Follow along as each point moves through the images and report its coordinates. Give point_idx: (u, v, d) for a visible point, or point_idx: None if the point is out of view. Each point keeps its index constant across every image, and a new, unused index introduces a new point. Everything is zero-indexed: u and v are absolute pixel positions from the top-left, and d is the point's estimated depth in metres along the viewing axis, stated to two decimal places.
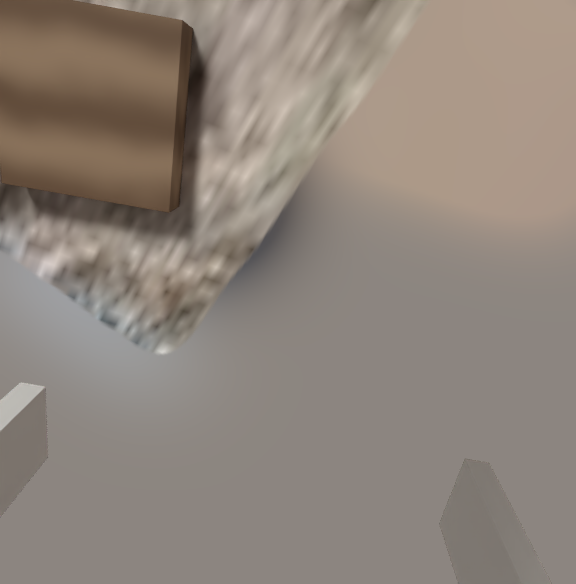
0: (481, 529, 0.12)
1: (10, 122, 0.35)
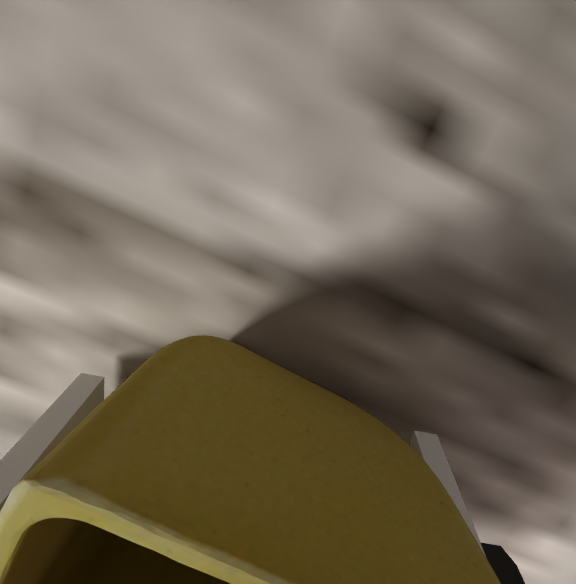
0: None
1: None
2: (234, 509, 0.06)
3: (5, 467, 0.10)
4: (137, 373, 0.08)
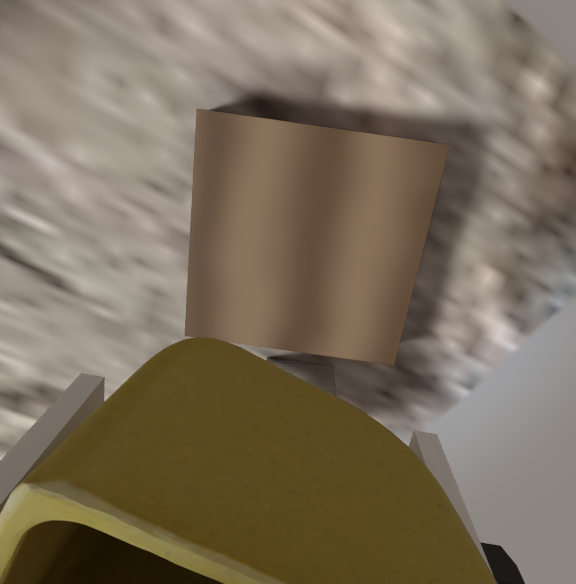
0: None
1: (323, 341, 0.29)
2: (232, 511, 0.06)
3: (5, 467, 0.10)
4: (136, 375, 0.08)
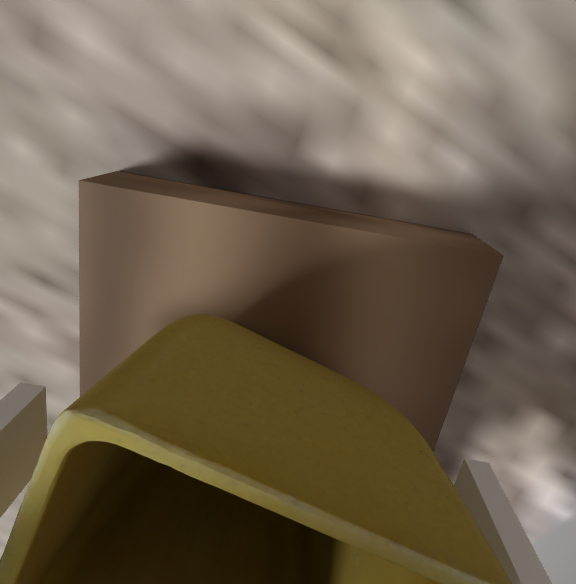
0: (481, 529, 0.12)
1: None
2: (235, 440, 0.08)
3: None
4: (151, 340, 0.10)
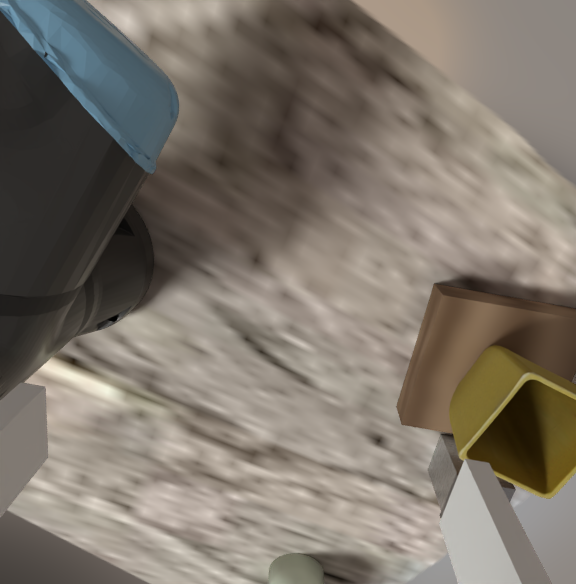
0: (481, 529, 0.12)
1: None
2: (554, 381, 0.32)
3: None
4: (511, 355, 0.34)
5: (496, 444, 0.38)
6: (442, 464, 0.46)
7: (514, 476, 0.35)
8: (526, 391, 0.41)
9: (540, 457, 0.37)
